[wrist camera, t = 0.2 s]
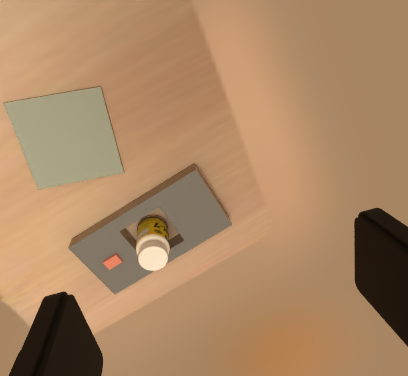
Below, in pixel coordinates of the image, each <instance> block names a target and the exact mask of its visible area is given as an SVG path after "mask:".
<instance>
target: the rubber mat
mask: <svg viewBox="0 0 408 376" xmlns="http://www.w3.org/2000/svg"><path fill="white" fill-rule="evenodd" d="M4 106H5V108H6V111H7V113H8V116H9V118H10V121H11V123H12V126H13V128H14V131H15V133H16V136H17V138H18V140H19V143H20V145H21V148H22V150H23V153H24V155H25V158H26V160H27V163H28V165H29V168H30V170H31V173H32V175H33V178H34V180H35V182H36V185H37V187H38V190H39V189H44V188H49V187H54V186H60V185H65V184H70V183H75V182H80V181H85V180H90V179H96V178H101V177H106V176H111V175H116V174H121V173H124V170H123V166H122V162H121V159H120V155H119V151H118V148H117V144H116V140H115V137H114V133H113V129H112V126H111V122H110V118H109V115H108V111H107V107H106V104H105V100H104V96H103V93H102V89H101V86H100V87H94V88H88V89H83V90H77V91H71V92H65V93H59V94H53V95H47V96H41V97H36V98H30V99H24V100H18V101H12V102H6V103H4Z"/></svg>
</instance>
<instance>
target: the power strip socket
mask: <svg viewBox="0 0 408 376" xmlns="http://www.w3.org/2000/svg"><path fill="white" fill-rule="evenodd" d="M159 207H160V209H161V210H162V211H163V213H164V214H165V215H166V217H167V218H168V219H169V221H170V222H171V223H172V224H173V226H174V227H175V228H176V230H177V231H178V232H179V235H177V236H175V237H174V238H172V239H170V240H169V244H170V251H169V254H168V261H167V263H169V262H170V261H172V260H174V259H175V258H177V257H179V256H180V255H182V254H184V253H186V252H187V251H189V250H191V249H192V248H194V247H196V246H197V245H199V244H201V243H202V242H204V241H206V240H207V239H209V238H211V237H212V236H214V235H216V234H218V233H219V232H221V231H223V230H224V229H226V228H228V227H229V226H231V225H232V223H231V221H230V219H229V217H228V215H227V214H226V212H225V211H224V209H223V208H222V206H221V205H220V203H219V202H218V200H217V199H216V197H215V195H214V194H213V192H212V191H211V189H210V188H209V186H208V185H207V183H206V182H205V180H204V179H203V177H202V175H201V174H200V172H199V171H198V169H197V168H196V166H195V165H194V164H192V165H191V166H189V167H187V168H186V169H184V170H183V171H181V172H179V173H178V174H176V175H175V176H173V177H171V178H170V179H168V180H166V181H165V182H163V183H162V184H160V185H158V186H157V187H155V188H154V189H152V190H150V191H149V192H147V193H145V194H144V195H142V196H141V197H139V198H137V199H136V200H134V201H133V202H131V203H129V204H128V205H126V206H124V207H123V208H121V209H120V210H118V211H116V212H115V213H113V214H112V215H110V216H108V217H107V218H105V219H103V220H102V221H100V222H99V223H97V224H95V225H94V226H92V227H91V228H89V229H87V230H86V231H84V232H82V233H81V234H79V235H78V236H76V237H74V238H73V239H72V240H71V243H70V245H69V249H70V250H71V251H72V252H73V253H74V254H75V255H76V256H77V257H78V258H79V259H80V260H81V261H82V262H83V263H84V264H85V265H86V266H87V267H88V268H89V269H90V270H91V271H92V272H93V273H94V274H95V275H96V276H97V277H98V278H99V279H100V280H101V281H102V282H103V283H104V284H105V285H106V286H107V287H108V288H109V289H110V290H111V291H112V292H113V293H114V294H117V293H118V292H120V291H122V290H123V289H125V288H127V287H128V286H130V285H132V284H133V283H135V282H137V281H138V280H140V279H142V278H143V277H145V276H147V275H149V274H150V273H152V272H154V271H150V270H146V269H144V268H143V267H141V265H140V264H139V261H138V255H137V252H136V241H135V239H134V238H133V237H132V236H131V235H130V234H129V232H128V231H127V230H126V229H125V228H126V227H128V226H129V225H131V224H133V223H134V222H136V221H138V220H139V219H141V218H142V217H144V216H146V215H147V214H149V213H151V212H152V211H154V210H156V209H157V208H159ZM167 263H166V264H167Z"/></svg>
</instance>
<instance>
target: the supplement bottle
mask: <svg viewBox="0 0 408 376" xmlns="http://www.w3.org/2000/svg"><path fill="white" fill-rule="evenodd" d="M169 251H170V244H169V234H168V226H167V223H166V222H165V220H164V219H162V218H161V217H159V216H155V215H150V216H147V217H145V218H143V219H142V220H141V221H140V222H139V224H138V227H137V240H136V252H137V255H138V261H139V264H140V265H141V267H143V268H144V269H146V270H150V271H155V270H159V269H161V268H163V267H164V266H165V265H166V263H167V261H168V254H169Z"/></svg>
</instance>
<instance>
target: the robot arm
mask: <svg viewBox="0 0 408 376" xmlns="http://www.w3.org/2000/svg"><path fill="white" fill-rule="evenodd" d="M354 224H355V225H354V226H355V283H356V286H357V288H358V290H359V291H360V293H361V294H362V295H363V296H364V297H365V298H366V300H367V301H368V302H369V303H370V304H371V305H372V306H373V307H374V309H375V310H376V311H377V312H378V313H379V314H380V315H381V317H382V318H383V319H384V320H385V321H386V322H387V323H388V324H389V326H390V327H391V328H392V329H393V330H394V331H395V332H396V333H397V335H398V336H399V337H400V338H401V339H402V340H403V341H404V343H405V344H406V345H407V346H408V227H407V226H406V225H404V224H403V223H401V222H400V221H398V220H396V219H395V218H394V217H392V216H391V215H389V214H388V213H386V212H385V211H383V210H382V209H380V208H374V209H371V210H367V211H363V212H360V213H359V215H358V218H356V219H355V223H354ZM102 368H103V356H102V353H101V350H100V348H99V346H98V344H97V342H96V340H95V338H94V336H93V334H92V332H91V330H90V328H89V326H88V324H87V322H86V320H85V318H84V316H83V314H82V311H81V309H80V307H79V305H78V303H77V301H76V299H75V297H74V296H73V295H68V294H67V293H66V292H60V293H57V294H53V295H49V296H46V297H44V299H43V301H42V303H41V305H40V308H39V310H38V312H37V315H36V317H35V319H34V322H33V324H32V326H31V329H30V331H29V333H28V336H27V338H26V340H25V342H24V345H23V347H22V350H21V351H20V352H19V354H18V356H17V358H16V360H15V362H14V365H13V367H12V369H11V372H10V374H9V376H101V374H102Z"/></svg>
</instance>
